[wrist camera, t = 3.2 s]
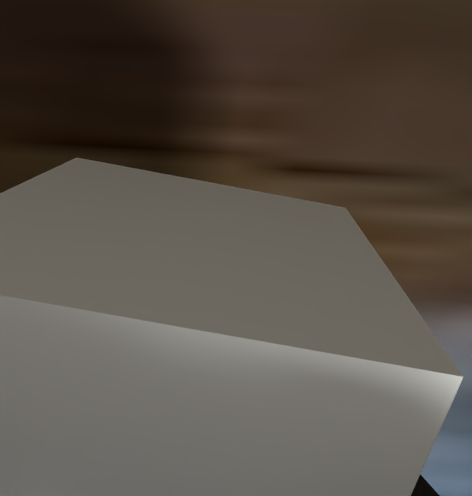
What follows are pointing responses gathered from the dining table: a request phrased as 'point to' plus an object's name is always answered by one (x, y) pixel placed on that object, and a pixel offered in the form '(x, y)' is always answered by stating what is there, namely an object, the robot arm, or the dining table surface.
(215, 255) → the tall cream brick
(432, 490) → the robot arm
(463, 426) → the dining table surface
